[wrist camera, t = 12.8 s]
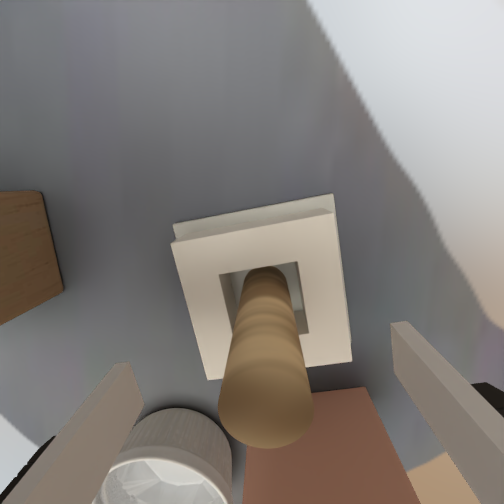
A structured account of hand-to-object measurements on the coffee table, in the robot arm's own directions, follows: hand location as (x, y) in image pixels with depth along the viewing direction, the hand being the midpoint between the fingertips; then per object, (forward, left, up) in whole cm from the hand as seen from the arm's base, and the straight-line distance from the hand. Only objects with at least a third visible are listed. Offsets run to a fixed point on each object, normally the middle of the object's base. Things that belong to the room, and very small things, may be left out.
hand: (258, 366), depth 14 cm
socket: (0, 0, -13) cm, 13 cm away
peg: (0, 0, -12) cm, 12 cm away
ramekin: (+18, -13, -13) cm, 26 cm away
